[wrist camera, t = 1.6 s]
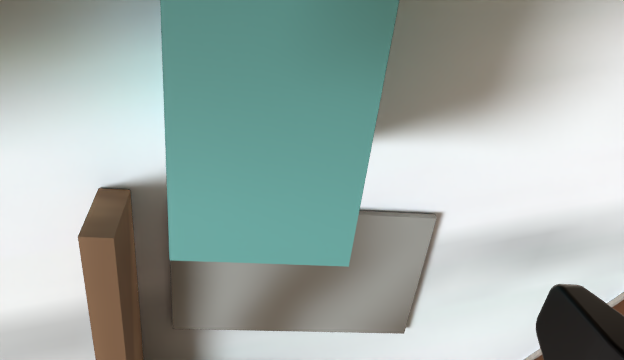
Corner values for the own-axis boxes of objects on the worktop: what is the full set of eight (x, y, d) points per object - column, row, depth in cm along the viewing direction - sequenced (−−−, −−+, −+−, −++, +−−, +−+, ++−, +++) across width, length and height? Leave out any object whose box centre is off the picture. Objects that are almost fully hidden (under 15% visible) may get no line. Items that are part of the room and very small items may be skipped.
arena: (121, 387, 29) (107, 442, 26) (98, 188, 22) (78, 236, 20) (409, 390, 31) (422, 441, 28) (467, 206, 24) (490, 252, 22)
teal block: (195, 136, 22) (169, 260, 16) (194, -135, 17) (156, -100, 11) (326, 144, 22) (348, 266, 16) (362, -115, 17) (413, -73, 11)
